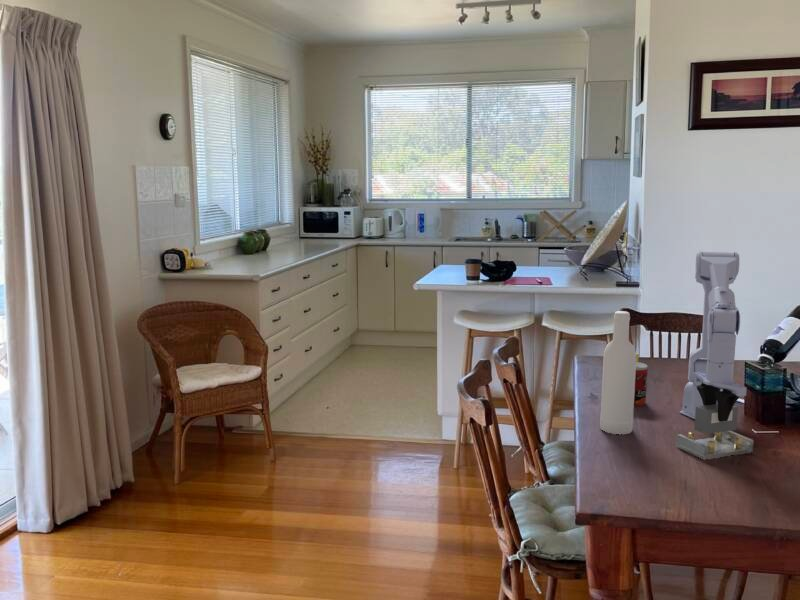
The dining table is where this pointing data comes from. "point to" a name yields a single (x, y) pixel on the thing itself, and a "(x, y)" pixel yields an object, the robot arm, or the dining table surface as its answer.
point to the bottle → (618, 379)
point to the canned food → (640, 384)
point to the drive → (714, 419)
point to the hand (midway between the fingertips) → (716, 418)
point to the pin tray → (715, 445)
